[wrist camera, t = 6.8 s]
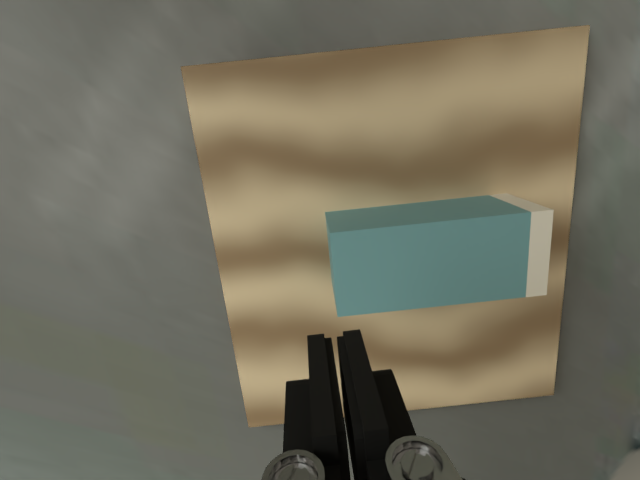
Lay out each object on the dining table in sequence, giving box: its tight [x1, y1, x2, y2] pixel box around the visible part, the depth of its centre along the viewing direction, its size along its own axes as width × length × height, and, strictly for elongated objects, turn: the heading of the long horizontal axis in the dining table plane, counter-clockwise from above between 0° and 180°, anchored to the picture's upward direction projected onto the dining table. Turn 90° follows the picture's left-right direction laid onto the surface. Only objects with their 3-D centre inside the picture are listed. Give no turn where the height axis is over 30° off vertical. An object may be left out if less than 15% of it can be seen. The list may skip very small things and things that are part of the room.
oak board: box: [181, 25, 590, 427], centre depth 27 cm, size 26×24×1 cm
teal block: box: [325, 193, 554, 317], centre depth 24 cm, size 5×5×12 cm
